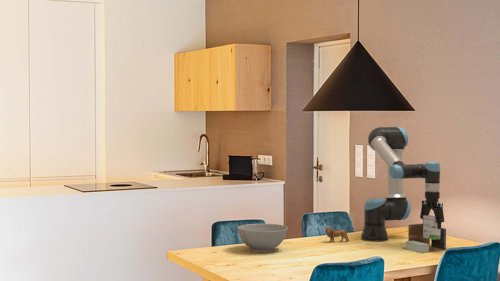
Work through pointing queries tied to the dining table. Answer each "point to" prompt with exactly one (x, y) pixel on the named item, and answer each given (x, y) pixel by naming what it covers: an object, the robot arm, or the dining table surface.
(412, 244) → the flat grey box
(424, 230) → the ink box
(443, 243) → the bookend
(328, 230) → the lion figurine
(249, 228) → the decorative bowl
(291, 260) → the dining table surface
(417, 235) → the shelf
